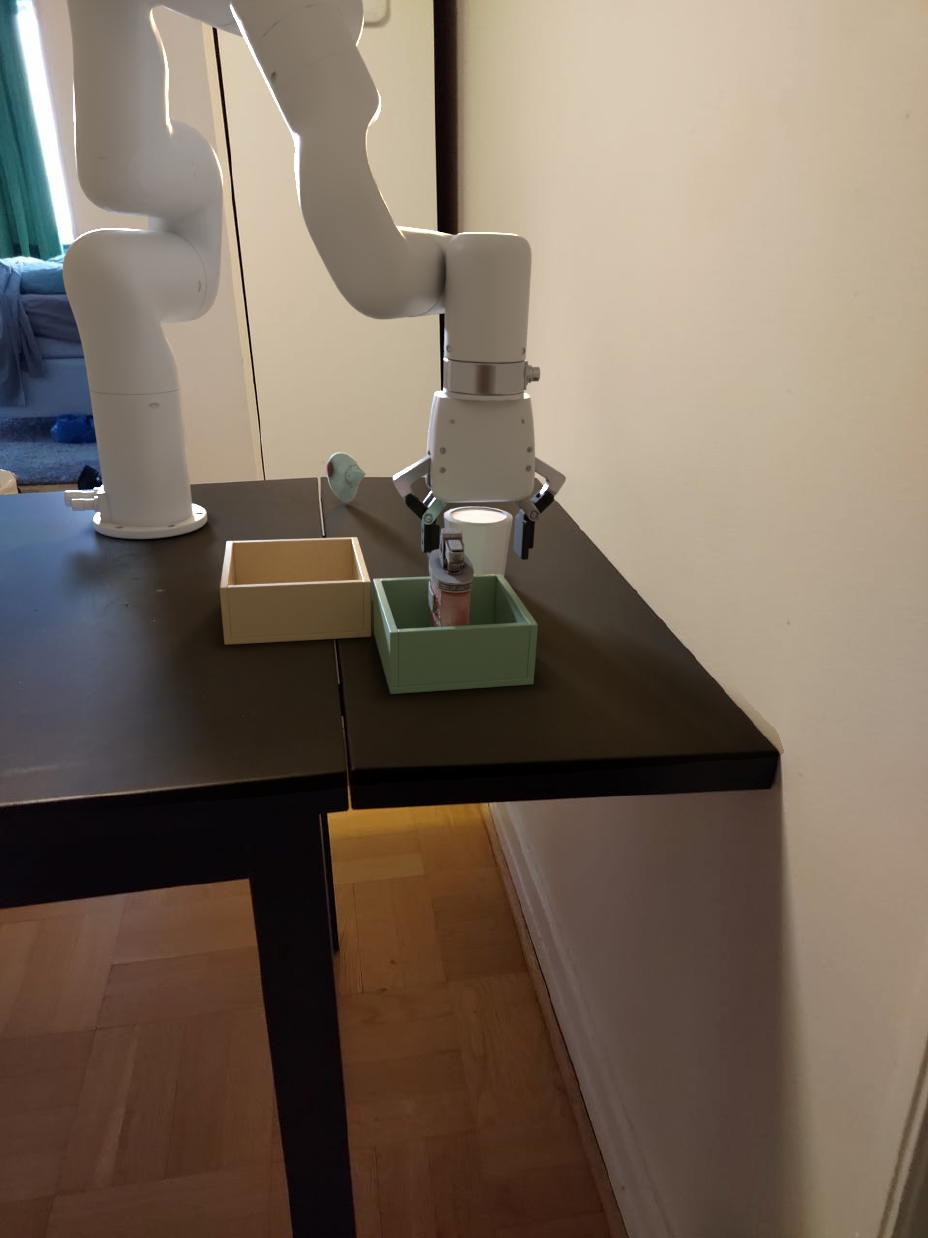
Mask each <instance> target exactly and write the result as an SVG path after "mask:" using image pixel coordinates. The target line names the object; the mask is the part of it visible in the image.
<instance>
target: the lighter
mask: <svg viewBox="0 0 928 1238" xmlns="http://www.w3.org/2000/svg"><path fill="white" fill-rule="evenodd" d="M428 572H429V577H430V576H431V580H430V581H429V606H430V608H431V618H430V627H449V626H467V625H469V618H470V591H471V589H472V588H473V579H474V570H473V565H472V563H471V562H470V560H469V558H468V557H467V556H466V555H465V554H464V543H463V540H462V532H457V531H456V529H454V528H445V527H444V528H440V539H439V549H436V550H433V551H432V552H431V554H430V557H428ZM430 627H429V628H430Z"/></svg>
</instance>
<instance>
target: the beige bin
mask: <svg viewBox="0 0 928 1238" xmlns="http://www.w3.org/2000/svg"><path fill="white" fill-rule="evenodd" d="M223 556H224V557H223V564H222V570H221V576H220V577H221V578H220V585H219V595H220V607H221V620H222V631H223V642H224V645H225V646H226V645H227V646H229V645H246V644H248V645H249V644H264V643H281V642H282V643H283V642H299V641H300V642H302V641H319V640H320V641H321V640H336V639H337V640H338V639H356V638H357V639H358V638H371V637H372V594H371V593H372V591H371V589H372V587H371V586H372V585H371V578H370V575H369V572H368V569H367V565H366V562H365V559H364V555H363V552H362V549H361V546H360V543H359V539H358V537H357V536H352V537H351V536H349V537H348V536H347V537H319V538H318V537H316V538H287V539H285V538H284V539H283V538H282V539H254V540H253V539H252V540H227V541H226V543H225V549H224V555H223Z"/></svg>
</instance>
